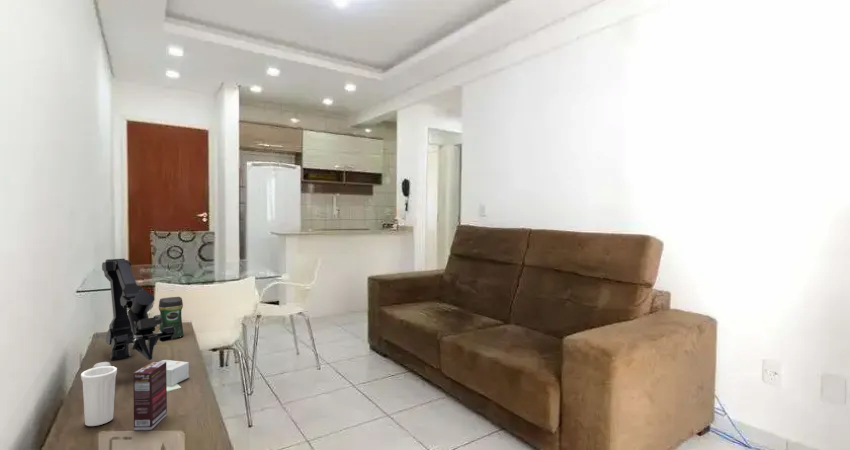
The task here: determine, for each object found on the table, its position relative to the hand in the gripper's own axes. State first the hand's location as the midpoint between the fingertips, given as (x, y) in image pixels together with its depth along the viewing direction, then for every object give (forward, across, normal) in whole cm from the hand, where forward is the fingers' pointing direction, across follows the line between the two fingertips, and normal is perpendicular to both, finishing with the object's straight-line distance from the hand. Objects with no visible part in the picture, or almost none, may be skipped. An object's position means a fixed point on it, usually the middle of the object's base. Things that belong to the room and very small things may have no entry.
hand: (150, 359), depth 147 cm
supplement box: (+28, -10, -17) cm, 34 cm away
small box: (+3, +1, +3) cm, 5 cm away
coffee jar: (-28, +23, +39) cm, 53 cm away
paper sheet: (+11, 0, -1) cm, 11 cm away
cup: (+20, -19, -10) cm, 30 cm away
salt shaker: (+13, -16, -2) cm, 21 cm away
